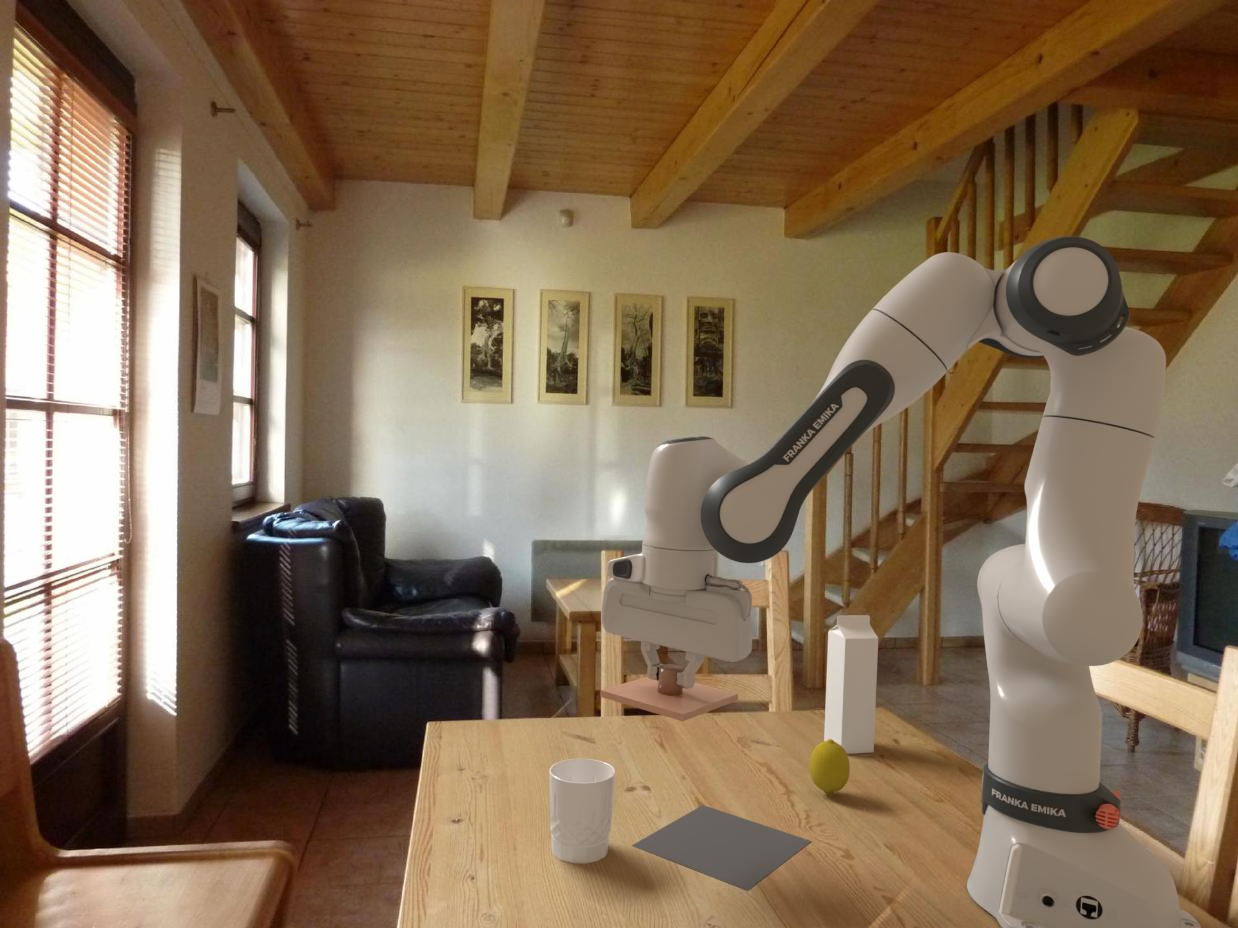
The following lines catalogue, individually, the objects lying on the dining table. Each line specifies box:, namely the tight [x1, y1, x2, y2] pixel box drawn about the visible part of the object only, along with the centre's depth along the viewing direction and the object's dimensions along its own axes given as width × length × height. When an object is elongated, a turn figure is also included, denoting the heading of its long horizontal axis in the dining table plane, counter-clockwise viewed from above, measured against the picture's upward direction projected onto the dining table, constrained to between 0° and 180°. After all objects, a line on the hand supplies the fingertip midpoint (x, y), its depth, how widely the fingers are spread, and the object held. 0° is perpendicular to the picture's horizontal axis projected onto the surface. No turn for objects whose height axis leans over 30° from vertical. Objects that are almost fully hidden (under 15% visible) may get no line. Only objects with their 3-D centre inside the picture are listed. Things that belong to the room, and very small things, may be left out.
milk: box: [823, 614, 879, 755], centre depth 144 cm, size 6×6×22 cm
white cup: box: [548, 758, 616, 864], centre depth 104 cm, size 8×8×10 cm
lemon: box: [809, 739, 851, 796], centre depth 124 cm, size 6×6×8 cm
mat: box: [631, 804, 812, 892], centre depth 107 cm, size 16×16×1 cm
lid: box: [600, 663, 739, 722], centre depth 106 cm, size 12×12×4 cm
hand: (670, 682), depth 106 cm, fingers closed on lid, 3 cm apart
